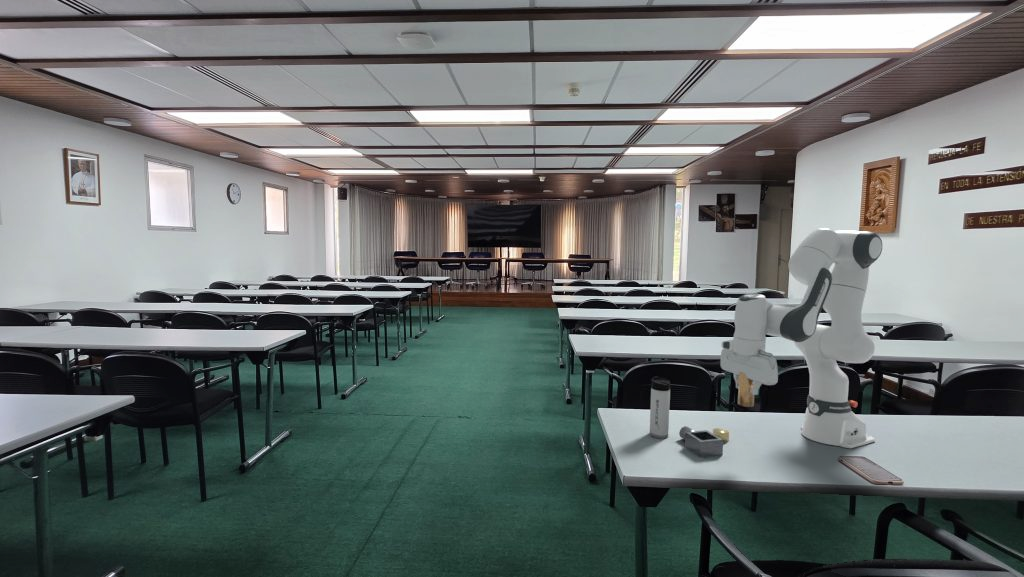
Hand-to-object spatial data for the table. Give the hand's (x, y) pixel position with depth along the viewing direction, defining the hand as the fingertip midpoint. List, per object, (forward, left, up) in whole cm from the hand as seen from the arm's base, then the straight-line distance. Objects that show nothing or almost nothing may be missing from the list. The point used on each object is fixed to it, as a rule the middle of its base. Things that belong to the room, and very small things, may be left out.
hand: (746, 391), depth 144 cm
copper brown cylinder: (0, 0, -4) cm, 4 cm away
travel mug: (+16, -22, -22) cm, 35 cm away
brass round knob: (-3, -14, -21) cm, 26 cm away
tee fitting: (+9, -10, -21) cm, 25 cm away
